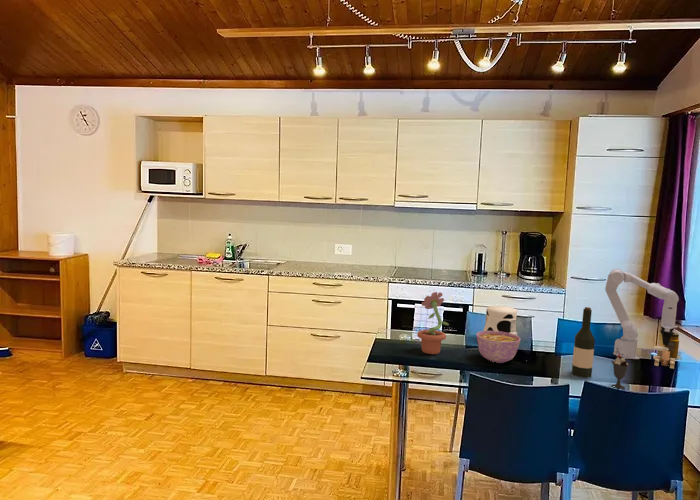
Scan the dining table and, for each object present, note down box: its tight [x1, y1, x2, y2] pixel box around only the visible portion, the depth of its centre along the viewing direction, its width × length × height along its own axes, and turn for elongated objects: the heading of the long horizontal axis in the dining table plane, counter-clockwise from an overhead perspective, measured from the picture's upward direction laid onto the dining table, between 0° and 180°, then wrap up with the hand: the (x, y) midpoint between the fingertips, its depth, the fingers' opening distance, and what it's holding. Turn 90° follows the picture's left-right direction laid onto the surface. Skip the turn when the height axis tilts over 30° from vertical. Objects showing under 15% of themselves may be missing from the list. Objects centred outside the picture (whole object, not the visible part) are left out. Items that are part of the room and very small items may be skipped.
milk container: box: [482, 305, 518, 336], centre depth 282 cm, size 17×17×18 cm
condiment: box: [663, 332, 681, 360], centre depth 269 cm, size 7×8×12 cm
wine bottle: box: [571, 306, 596, 379], centre depth 234 cm, size 8×8×30 cm
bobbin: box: [652, 345, 668, 360], centre depth 264 cm, size 6×6×6 cm
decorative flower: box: [416, 291, 450, 355], centre depth 257 cm, size 15×14×30 cm
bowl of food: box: [476, 330, 521, 364], centre depth 250 cm, size 20×20×12 cm
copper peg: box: [660, 350, 670, 367], centre depth 255 cm, size 3×3×7 cm
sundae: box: [611, 350, 630, 390], centre depth 221 cm, size 7×7×15 cm
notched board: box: [653, 354, 676, 370], centre depth 256 cm, size 10×8×2 cm
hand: (665, 343), depth 259 cm, fingers open, 7 cm apart
